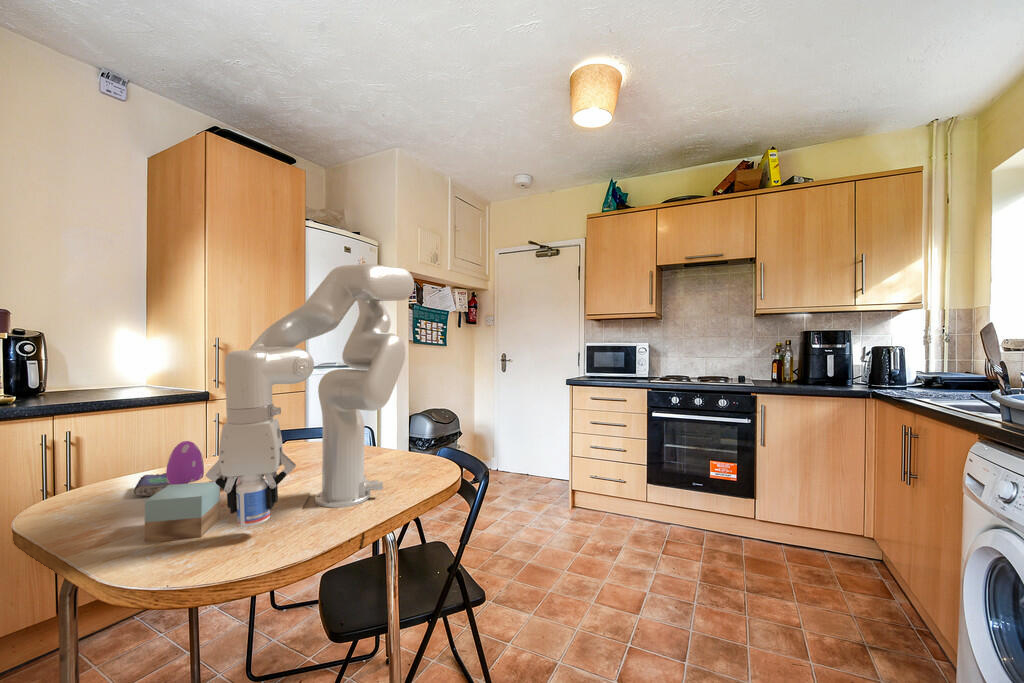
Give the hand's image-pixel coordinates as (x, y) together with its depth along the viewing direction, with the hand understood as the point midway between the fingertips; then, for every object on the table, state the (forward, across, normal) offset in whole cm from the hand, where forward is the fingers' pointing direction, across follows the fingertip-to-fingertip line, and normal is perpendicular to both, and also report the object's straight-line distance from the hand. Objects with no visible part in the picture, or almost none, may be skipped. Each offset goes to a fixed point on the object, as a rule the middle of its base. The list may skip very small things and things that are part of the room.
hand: (253, 507), depth 83 cm
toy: (+6, +19, -19) cm, 27 cm away
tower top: (+1, +14, -6) cm, 15 cm away
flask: (+7, +31, -36) cm, 48 cm away
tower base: (+5, +14, -6) cm, 16 cm away
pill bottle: (+3, 0, 0) cm, 3 cm away
